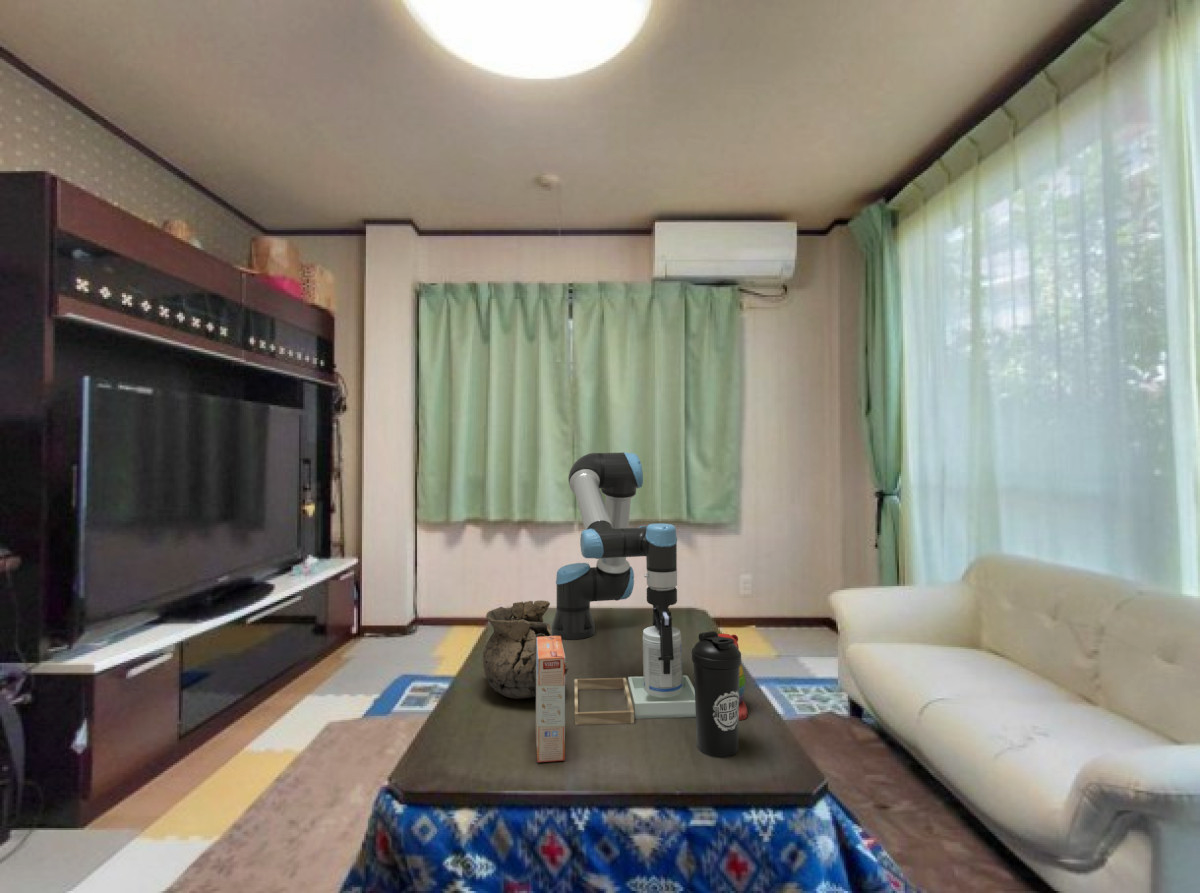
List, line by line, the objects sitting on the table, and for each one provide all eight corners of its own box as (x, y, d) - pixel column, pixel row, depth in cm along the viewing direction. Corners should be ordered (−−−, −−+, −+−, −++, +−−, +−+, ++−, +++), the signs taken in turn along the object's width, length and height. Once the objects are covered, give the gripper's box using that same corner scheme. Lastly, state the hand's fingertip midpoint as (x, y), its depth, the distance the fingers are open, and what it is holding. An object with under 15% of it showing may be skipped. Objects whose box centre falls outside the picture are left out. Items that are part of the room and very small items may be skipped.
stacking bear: (698, 714, 129) (697, 638, 129) (706, 696, 138) (705, 626, 139) (745, 722, 125) (744, 643, 125) (750, 703, 134) (749, 630, 135)
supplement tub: (690, 692, 134) (689, 632, 134) (660, 702, 128) (659, 639, 129) (664, 679, 142) (664, 622, 142) (635, 688, 136) (634, 629, 137)
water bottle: (711, 764, 108) (710, 647, 108) (683, 740, 117) (682, 632, 118) (752, 753, 112) (751, 640, 112) (722, 730, 121) (721, 626, 122)
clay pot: (487, 673, 154) (487, 597, 155) (571, 672, 155) (570, 596, 155) (467, 715, 129) (466, 623, 130) (566, 713, 130) (566, 622, 130)
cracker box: (566, 761, 109) (566, 656, 110) (536, 764, 108) (535, 658, 109) (562, 727, 123) (562, 634, 123) (535, 729, 122) (535, 635, 123)
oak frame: (574, 688, 144) (574, 679, 144) (625, 687, 144) (625, 677, 144) (574, 725, 124) (574, 713, 124) (634, 723, 125) (634, 712, 125)
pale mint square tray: (628, 690, 142) (628, 676, 142) (687, 688, 143) (687, 675, 143) (635, 718, 127) (634, 703, 127) (701, 716, 128) (701, 701, 128)
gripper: (641, 577, 146) (641, 661, 146) (653, 598, 124) (654, 697, 124) (668, 576, 147) (669, 660, 146) (686, 598, 125) (686, 696, 124)
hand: (662, 677), depth 135 cm, fingers closed on supplement tub, 10 cm apart
